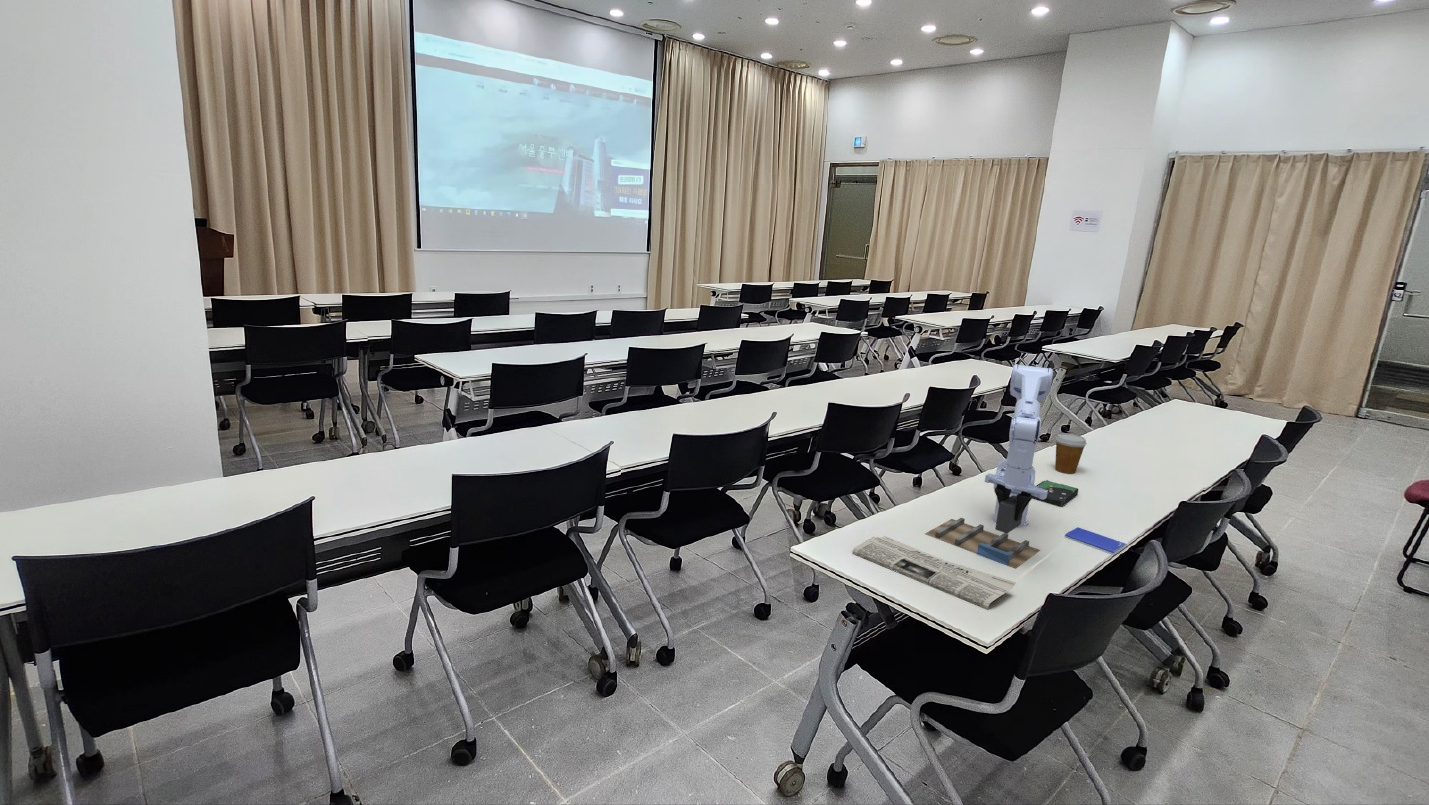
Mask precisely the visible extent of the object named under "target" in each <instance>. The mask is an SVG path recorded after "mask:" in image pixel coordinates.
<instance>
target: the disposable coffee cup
mask: <svg viewBox="0 0 1429 805" xmlns="http://www.w3.org/2000/svg"><path fill="white" fill-rule="evenodd" d="M1086 441H1087V440H1086V438H1085V437H1083V436H1080V435H1079V434H1077V435H1076V434H1073V433H1066V432H1065V433H1059V434H1057V436H1056V437H1055V442H1056V443H1055V464H1054V469H1055V471H1057V472H1060V473H1063V474H1067V475H1068V474H1069V475H1073V474H1076V472H1077V468H1078V466H1079V463H1080V460H1081V457H1082V455H1083V451H1084V449H1085V447H1086V445H1087V442H1086Z"/></svg>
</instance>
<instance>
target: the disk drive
mask: <svg viewBox="0 0 1429 805" xmlns="http://www.w3.org/2000/svg"><path fill="white" fill-rule="evenodd" d="M1035 486H1037V487H1039V488H1042V489H1045V490H1048V493H1047V498H1046V499H1044V500H1042V499H1039V497H1036V496H1034V497H1033V498H1032V499H1031V500H1034V501H1039V502H1041V503H1045V504H1048V505H1052V506H1056V507H1059V508H1062V507H1065V505H1067V503H1069V502H1071V501H1072V500H1073V499H1074V498H1076V497H1077V496H1078V494H1079V488H1077V487H1073V486H1069V485H1066V484H1062V483H1057V482H1053V481H1049V480H1048V479H1046V480H1042V481H1040V483H1037V485H1035Z"/></svg>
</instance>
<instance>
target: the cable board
mask: <svg viewBox="0 0 1429 805" xmlns="http://www.w3.org/2000/svg"><path fill="white" fill-rule="evenodd" d="M984 528H985V525H984V524H978V525H977V526H973V525H970V524H968V523H965V518H963V517H959V518H958V519H957V520H956V519H953V518H950V519H949V520H947V521H945V522H944V523H942V524H940V525H938V526H936V527H933V529H931V530H929V531H927V532H925V533H924V535H926V536H928V537H931V538H934V539H935V540H939V541H941V542H944V543H946V544H950V545H951V546H955V547H957V548H960V549H962V550H965V551H969V552H971V553H973V554H976V555H978V556H982V557H983V558H987V559H989V560H992V561H994V562H997V563H1000V564H1002V565H1005V566H1007V567H1010V568H1013V569H1017V568H1019V567H1020V566H1022V565H1023V564H1024V563H1025V562H1027V561H1028V560H1029V559H1031V558H1032V557H1034V556H1035V555H1036V554H1037V553H1039V552H1040V551H1041V549H1038V548H1036V547H1032V546H1031V545H1030V540H1027V539H1024V540H1023V541H1022V542H1018V541H1016V540H1013V539H1010V538H1009V533H1004V532H1002V534H1000V535H999V534H996V533H993V532H990V531H988V530H985V529H984Z"/></svg>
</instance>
